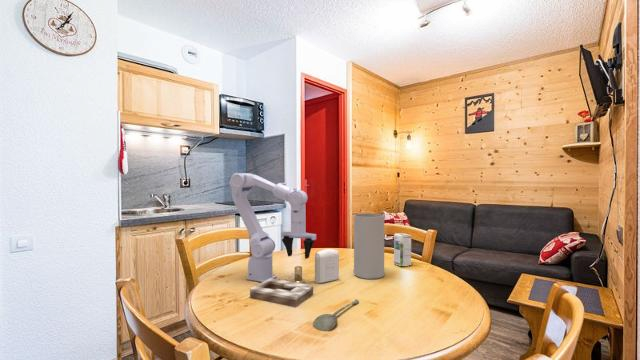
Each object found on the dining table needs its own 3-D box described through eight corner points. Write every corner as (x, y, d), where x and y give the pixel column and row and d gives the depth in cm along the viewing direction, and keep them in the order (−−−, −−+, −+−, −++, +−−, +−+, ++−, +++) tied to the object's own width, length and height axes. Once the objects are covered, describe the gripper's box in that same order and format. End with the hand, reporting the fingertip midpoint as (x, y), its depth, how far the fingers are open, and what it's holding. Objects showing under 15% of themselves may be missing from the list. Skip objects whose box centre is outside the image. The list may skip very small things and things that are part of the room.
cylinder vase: (382, 270, 135) (382, 213, 135) (385, 280, 123) (385, 217, 122) (353, 269, 136) (353, 213, 136) (354, 279, 124) (354, 216, 124)
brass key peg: (289, 283, 119) (289, 268, 119) (296, 279, 123) (296, 264, 123) (300, 285, 117) (300, 269, 117) (306, 281, 121) (306, 266, 121)
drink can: (393, 264, 145) (393, 233, 144) (403, 263, 147) (403, 232, 147) (401, 267, 139) (401, 235, 139) (411, 266, 142) (411, 234, 142)
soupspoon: (307, 330, 85) (327, 339, 81) (307, 318, 84) (327, 326, 81) (348, 301, 103) (366, 307, 99) (348, 291, 102) (366, 297, 98)
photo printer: (334, 276, 127) (334, 246, 127) (340, 279, 123) (340, 248, 123) (313, 281, 121) (313, 250, 121) (319, 284, 118) (319, 252, 118)
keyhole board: (250, 297, 105) (250, 288, 105) (270, 286, 116) (270, 278, 116) (296, 307, 97) (296, 297, 97) (313, 294, 108) (313, 285, 108)
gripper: (319, 221, 120) (319, 256, 120) (287, 219, 126) (287, 252, 127) (311, 224, 114) (311, 260, 114) (278, 221, 120) (278, 256, 120)
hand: (298, 256), depth 120 cm, fingers open, 7 cm apart
